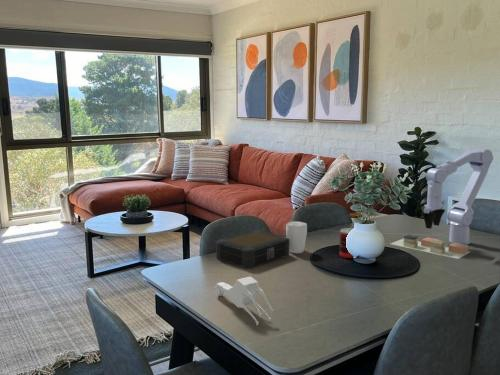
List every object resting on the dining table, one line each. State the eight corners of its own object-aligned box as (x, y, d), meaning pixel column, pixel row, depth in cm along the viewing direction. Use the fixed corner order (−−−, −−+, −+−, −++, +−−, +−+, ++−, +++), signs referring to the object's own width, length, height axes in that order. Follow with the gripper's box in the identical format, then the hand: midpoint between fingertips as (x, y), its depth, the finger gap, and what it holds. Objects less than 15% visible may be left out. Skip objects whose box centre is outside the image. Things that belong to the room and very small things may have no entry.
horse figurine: (263, 344, 142) (222, 290, 159) (276, 303, 134) (232, 251, 151) (249, 349, 139) (209, 293, 156) (262, 308, 131) (218, 253, 148)
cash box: (249, 270, 181) (249, 251, 179) (214, 258, 195) (214, 240, 193) (291, 256, 198) (292, 238, 197) (256, 246, 212) (256, 229, 211)
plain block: (434, 249, 202) (435, 239, 202) (444, 251, 199) (445, 241, 199) (430, 251, 199) (430, 241, 199) (440, 254, 196) (441, 243, 196)
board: (403, 240, 220) (403, 238, 220) (470, 254, 199) (470, 251, 199) (389, 246, 211) (389, 243, 211) (458, 261, 190) (458, 258, 190)
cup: (306, 248, 208) (307, 221, 206) (306, 254, 199) (307, 226, 197) (285, 247, 209) (286, 221, 207) (285, 254, 200) (285, 226, 198)
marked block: (408, 243, 211) (408, 234, 210) (417, 245, 208) (418, 236, 207) (403, 245, 208) (403, 236, 207) (412, 248, 205) (413, 238, 204)
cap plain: (453, 248, 204) (454, 242, 203) (467, 251, 200) (468, 245, 199) (448, 251, 200) (448, 245, 199) (462, 254, 196) (462, 248, 195)
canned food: (360, 254, 199) (361, 229, 197) (355, 260, 192) (356, 233, 190) (342, 252, 202) (342, 227, 200) (337, 257, 195) (338, 231, 193)
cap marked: (426, 243, 212) (427, 237, 212) (439, 245, 208) (440, 239, 208) (420, 245, 208) (421, 239, 208) (433, 248, 204) (434, 242, 204)
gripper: (432, 192, 213) (430, 222, 215) (418, 197, 203) (416, 228, 205) (448, 194, 208) (446, 224, 210) (434, 199, 198) (432, 230, 200)
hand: (432, 226), depth 207 cm, fingers open, 7 cm apart
